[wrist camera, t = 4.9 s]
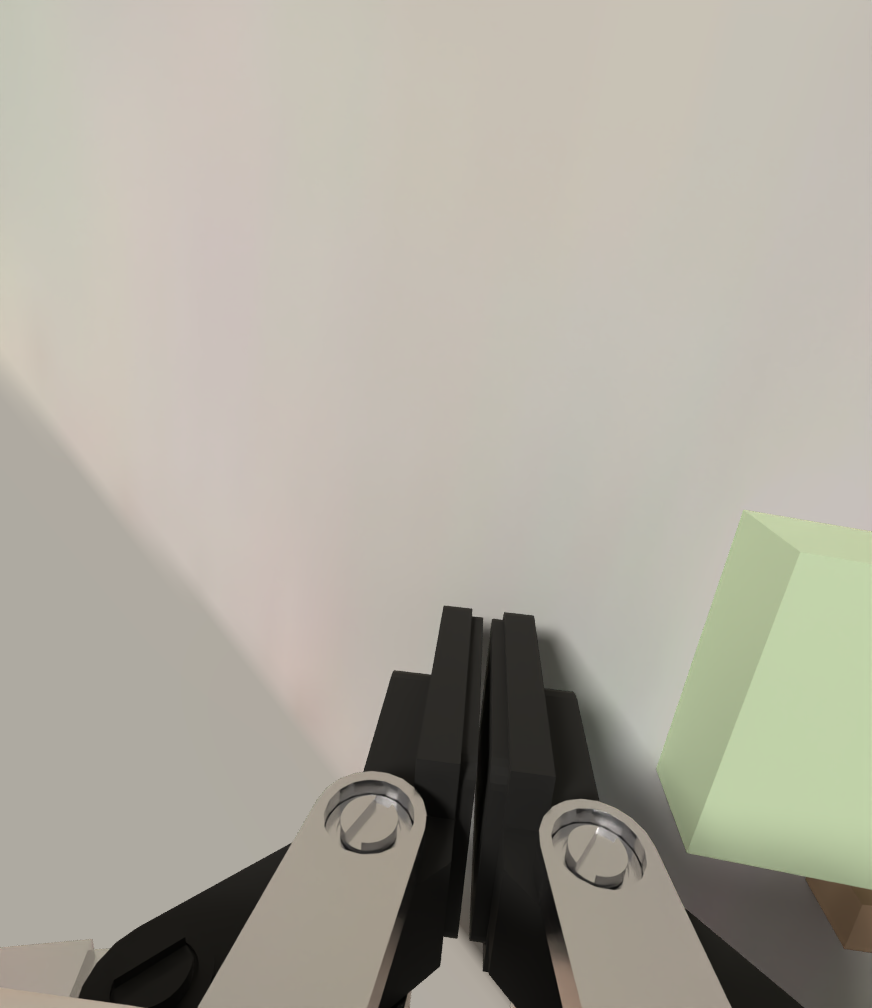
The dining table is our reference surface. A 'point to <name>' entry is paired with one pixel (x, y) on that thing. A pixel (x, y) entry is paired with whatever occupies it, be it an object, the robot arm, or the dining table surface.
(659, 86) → the dining table surface
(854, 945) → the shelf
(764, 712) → the tile
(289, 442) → the dining table surface
